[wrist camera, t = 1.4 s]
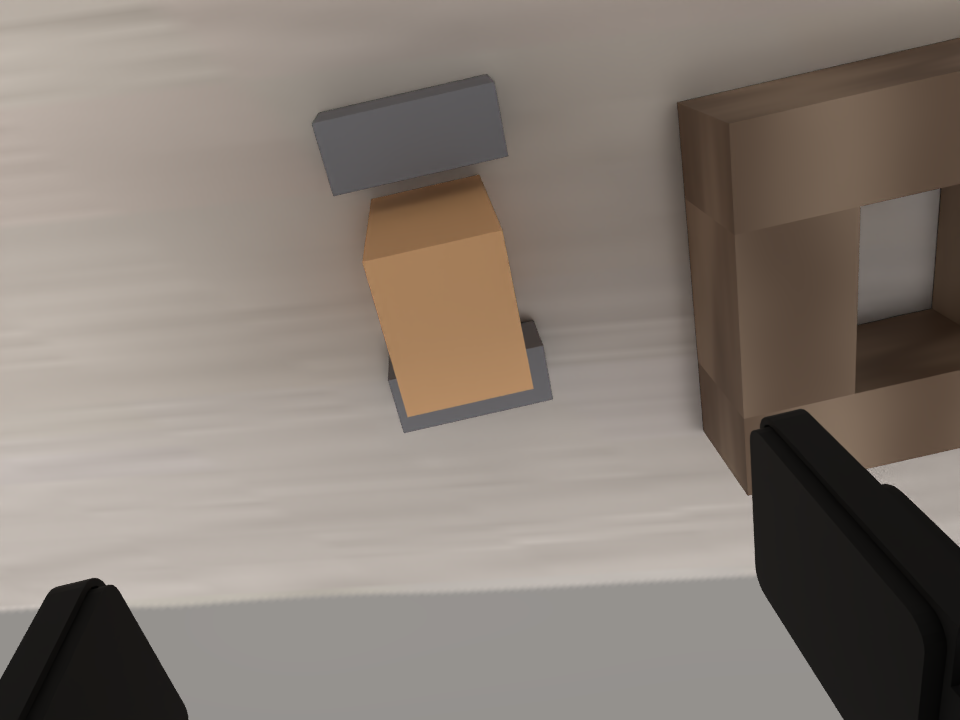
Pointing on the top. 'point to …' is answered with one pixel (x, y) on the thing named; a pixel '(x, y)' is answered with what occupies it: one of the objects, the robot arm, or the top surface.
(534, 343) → the grey block stand
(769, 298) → the port block
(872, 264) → the top surface
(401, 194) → the plug
